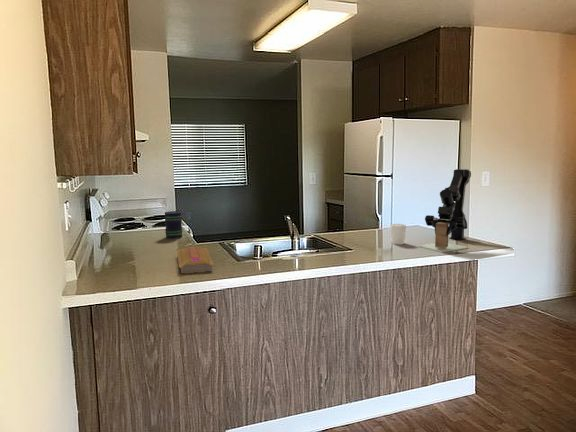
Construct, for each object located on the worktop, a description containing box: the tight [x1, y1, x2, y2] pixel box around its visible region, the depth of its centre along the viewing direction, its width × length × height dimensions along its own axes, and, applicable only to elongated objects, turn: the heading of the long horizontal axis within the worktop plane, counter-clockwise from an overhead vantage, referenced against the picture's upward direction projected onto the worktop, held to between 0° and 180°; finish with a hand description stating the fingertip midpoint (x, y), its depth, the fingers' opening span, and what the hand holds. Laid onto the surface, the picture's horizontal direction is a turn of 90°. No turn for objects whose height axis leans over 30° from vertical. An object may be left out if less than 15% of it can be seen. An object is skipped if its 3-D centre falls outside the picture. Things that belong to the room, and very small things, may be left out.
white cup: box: [390, 223, 407, 245], centre depth 249 cm, size 8×8×10 cm
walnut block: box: [434, 222, 449, 248], centre depth 231 cm, size 5×5×12 cm
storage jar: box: [164, 210, 184, 240], centre depth 275 cm, size 10×10×15 cm
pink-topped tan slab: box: [176, 246, 215, 274], centre depth 211 cm, size 35×14×6 cm, turn 15°
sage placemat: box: [418, 242, 469, 253], centre depth 238 cm, size 18×16×1 cm
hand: (441, 235), depth 230 cm, fingers closed on walnut block, 5 cm apart
